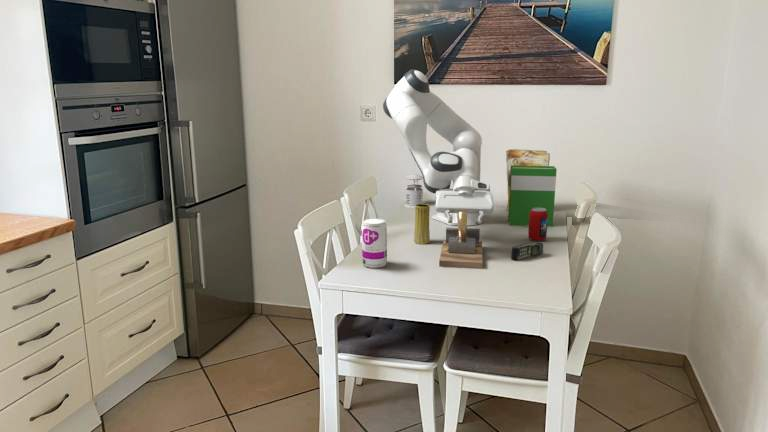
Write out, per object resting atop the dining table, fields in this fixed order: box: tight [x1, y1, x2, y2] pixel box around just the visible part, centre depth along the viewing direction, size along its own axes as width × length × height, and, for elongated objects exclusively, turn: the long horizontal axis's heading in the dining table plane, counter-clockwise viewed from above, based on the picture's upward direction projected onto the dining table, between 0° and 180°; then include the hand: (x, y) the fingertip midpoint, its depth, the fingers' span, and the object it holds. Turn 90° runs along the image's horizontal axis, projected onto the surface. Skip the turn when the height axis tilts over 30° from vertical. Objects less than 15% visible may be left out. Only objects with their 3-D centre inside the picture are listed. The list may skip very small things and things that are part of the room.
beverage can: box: [527, 208, 548, 242], centre depth 218 cm, size 7×7×12 cm
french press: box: [403, 159, 424, 209], centre depth 273 cm, size 10×12×25 cm
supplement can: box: [361, 217, 388, 269], centre depth 191 cm, size 8×8×15 cm
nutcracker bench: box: [438, 227, 483, 269], centre depth 200 cm, size 24×14×7 cm, turn 171°
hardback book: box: [507, 165, 557, 227], centre depth 240 cm, size 18×7×24 cm, turn 82°
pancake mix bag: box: [505, 148, 551, 211], centre depth 261 cm, size 7×19×28 cm, turn 71°
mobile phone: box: [510, 241, 544, 261], centre depth 199 cm, size 5×3×15 cm
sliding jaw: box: [448, 211, 475, 253], centre depth 198 cm, size 6×9×14 cm, turn 81°
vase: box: [413, 203, 431, 245], centre depth 216 cm, size 6×6×14 cm
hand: (463, 222), depth 198 cm, fingers open, 8 cm apart
